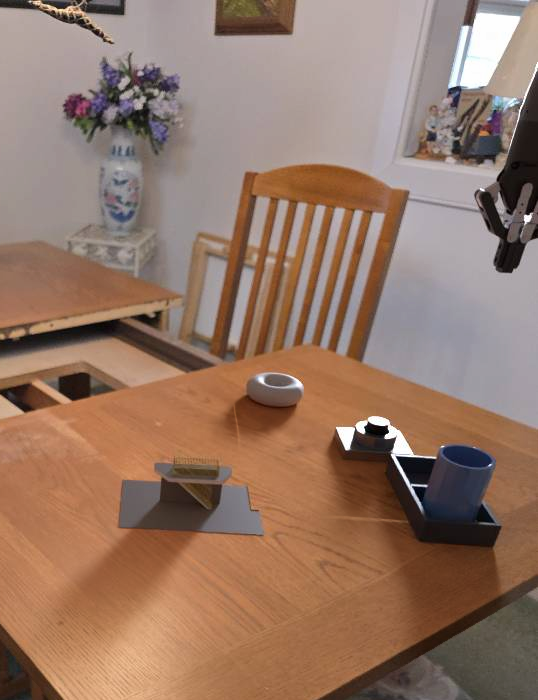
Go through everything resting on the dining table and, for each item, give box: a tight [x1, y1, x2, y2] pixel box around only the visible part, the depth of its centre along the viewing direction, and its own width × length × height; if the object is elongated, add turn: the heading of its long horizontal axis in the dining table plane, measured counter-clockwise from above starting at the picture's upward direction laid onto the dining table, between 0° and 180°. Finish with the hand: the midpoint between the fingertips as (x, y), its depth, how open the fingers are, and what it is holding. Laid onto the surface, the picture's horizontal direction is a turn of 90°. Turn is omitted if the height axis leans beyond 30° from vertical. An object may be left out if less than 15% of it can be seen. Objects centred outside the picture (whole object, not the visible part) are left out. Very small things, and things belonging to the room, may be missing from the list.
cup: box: [421, 443, 497, 522], centre depth 88 cm, size 7×7×9 cm
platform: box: [118, 456, 265, 536], centre depth 90 cm, size 12×18×7 cm, turn 88°
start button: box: [365, 416, 391, 435], centre depth 106 cm, size 3×3×2 cm
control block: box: [333, 420, 415, 464], centre depth 107 cm, size 10×8×4 cm
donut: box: [245, 372, 305, 408], centre depth 122 cm, size 10×4×10 cm
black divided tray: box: [384, 454, 503, 548], centre depth 94 cm, size 9×18×3 cm, turn 177°
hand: (503, 271), depth 92 cm, fingers closed
